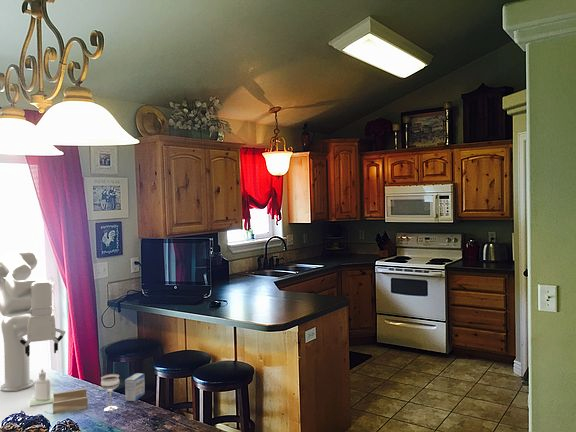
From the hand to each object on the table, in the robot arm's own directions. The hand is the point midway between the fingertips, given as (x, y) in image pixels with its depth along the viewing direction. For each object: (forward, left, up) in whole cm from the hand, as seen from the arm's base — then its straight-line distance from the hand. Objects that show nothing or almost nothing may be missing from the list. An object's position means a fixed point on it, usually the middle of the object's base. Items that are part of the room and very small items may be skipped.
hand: (41, 353), depth 191 cm
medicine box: (+14, +34, -19) cm, 42 cm away
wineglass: (+21, +24, -19) cm, 37 cm away
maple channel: (+11, +10, -19) cm, 24 cm away
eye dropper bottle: (0, 0, -19) cm, 19 cm away
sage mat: (0, 0, -19) cm, 19 cm away
